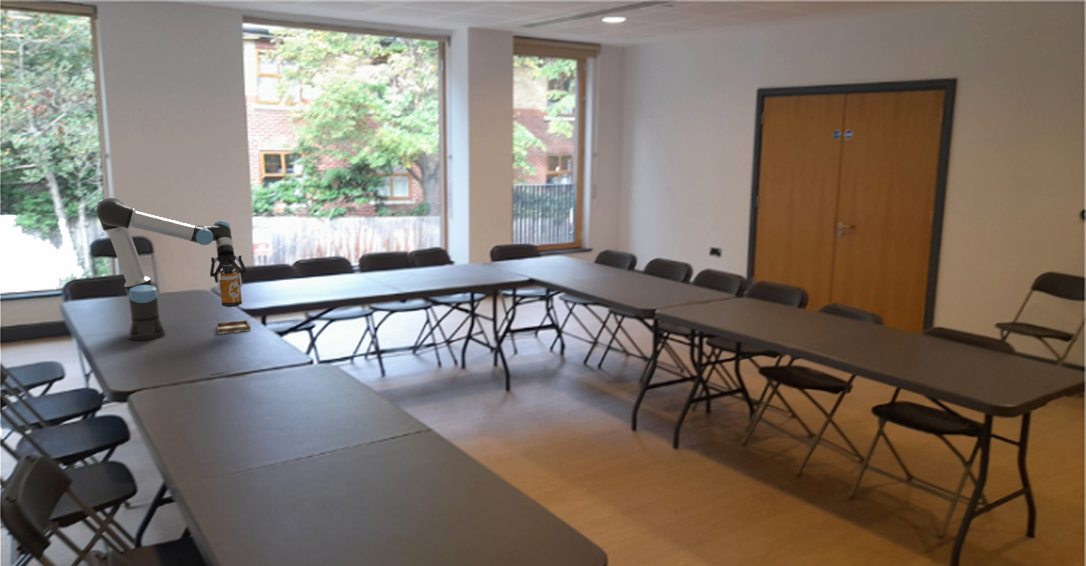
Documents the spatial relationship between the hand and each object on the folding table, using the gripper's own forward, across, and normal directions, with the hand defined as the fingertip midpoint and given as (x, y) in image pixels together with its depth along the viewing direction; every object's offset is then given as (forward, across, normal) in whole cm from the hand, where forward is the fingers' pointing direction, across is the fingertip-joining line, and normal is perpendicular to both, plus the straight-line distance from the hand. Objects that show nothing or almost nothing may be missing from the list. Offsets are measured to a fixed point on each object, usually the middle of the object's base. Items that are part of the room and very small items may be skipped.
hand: (230, 286), depth 362 cm
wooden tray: (+13, 0, -18) cm, 22 cm away
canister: (+5, 0, -9) cm, 11 cm away
